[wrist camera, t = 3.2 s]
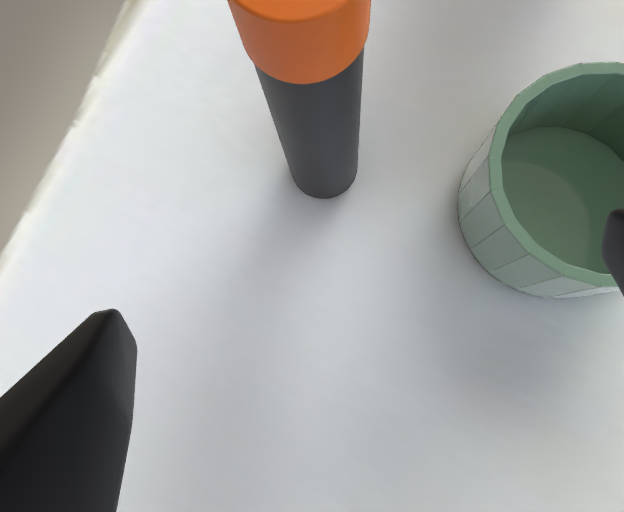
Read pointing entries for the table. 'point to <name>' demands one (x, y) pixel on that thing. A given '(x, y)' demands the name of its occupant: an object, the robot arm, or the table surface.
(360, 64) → the marker
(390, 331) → the table surface
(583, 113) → the pen pot
